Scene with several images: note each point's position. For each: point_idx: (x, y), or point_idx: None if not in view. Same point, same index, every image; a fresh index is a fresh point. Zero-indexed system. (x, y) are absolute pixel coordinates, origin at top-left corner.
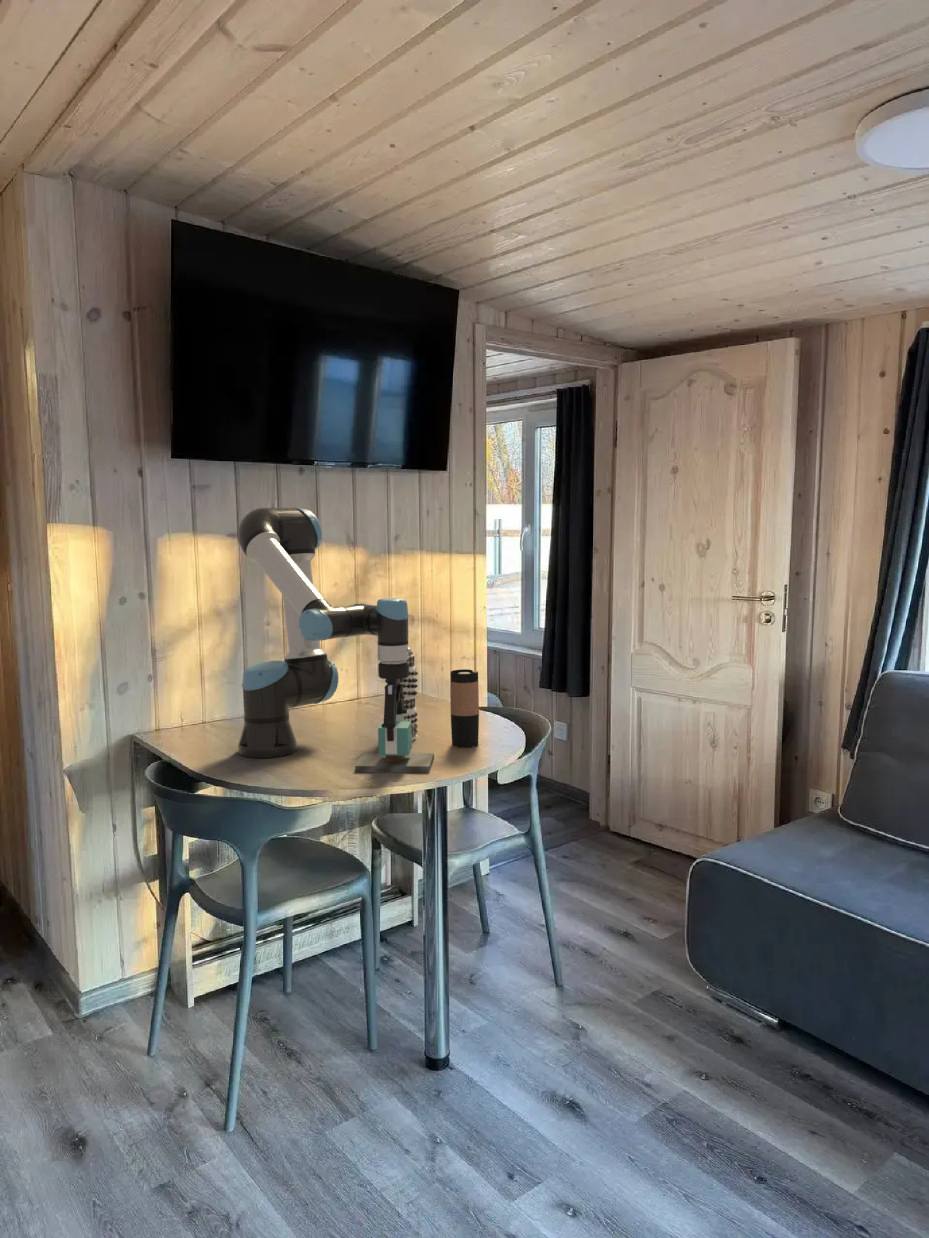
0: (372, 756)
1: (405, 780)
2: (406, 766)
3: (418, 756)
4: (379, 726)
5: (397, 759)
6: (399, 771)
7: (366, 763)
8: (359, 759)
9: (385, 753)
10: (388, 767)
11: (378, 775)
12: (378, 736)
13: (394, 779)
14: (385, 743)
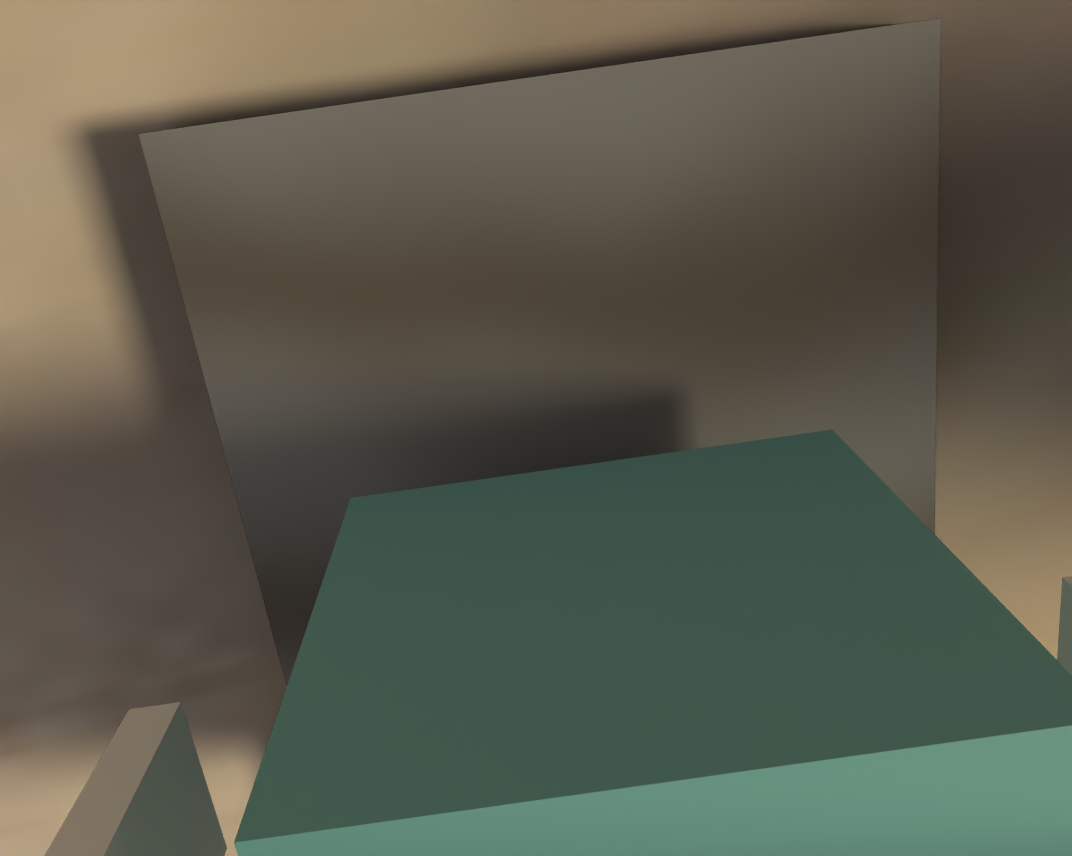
0: (732, 237)
1: (31, 814)
2: None
3: None
4: (434, 821)
5: None
6: None
7: (322, 271)
8: (527, 78)
9: (129, 713)
10: (267, 598)
11: (118, 490)
12: (287, 691)
13: (24, 704)
14: (54, 846)
